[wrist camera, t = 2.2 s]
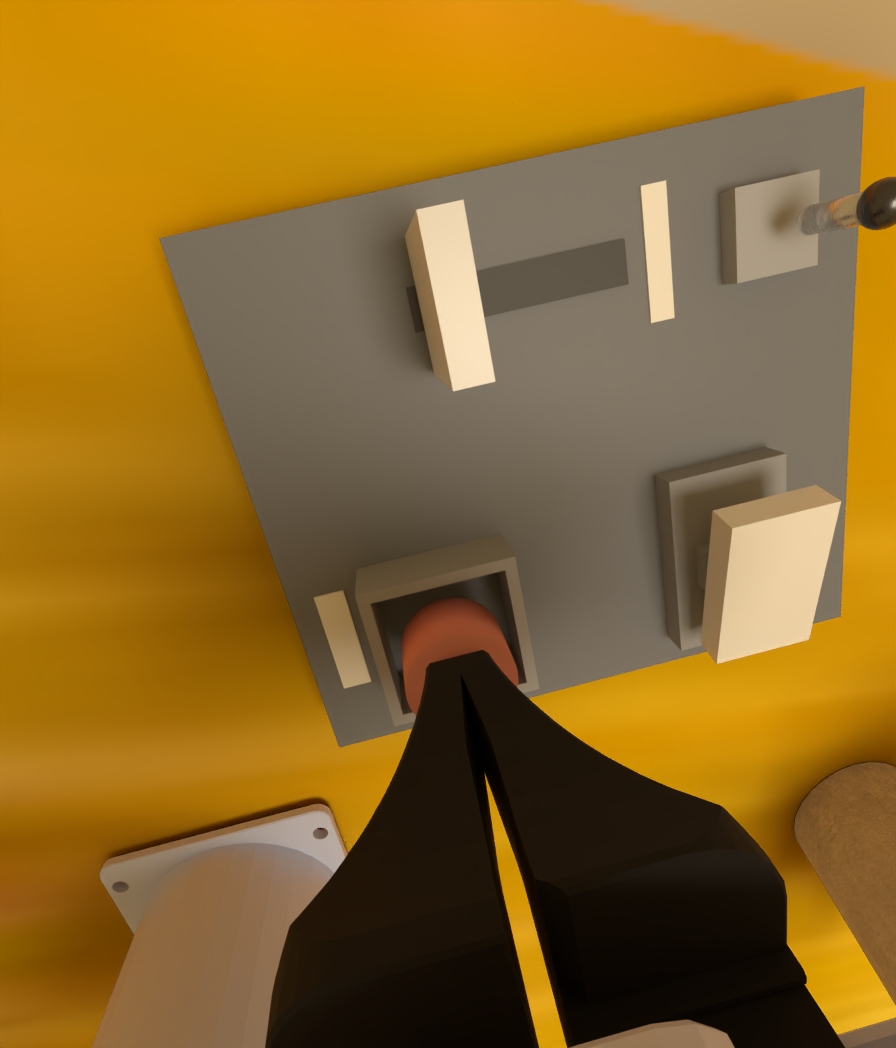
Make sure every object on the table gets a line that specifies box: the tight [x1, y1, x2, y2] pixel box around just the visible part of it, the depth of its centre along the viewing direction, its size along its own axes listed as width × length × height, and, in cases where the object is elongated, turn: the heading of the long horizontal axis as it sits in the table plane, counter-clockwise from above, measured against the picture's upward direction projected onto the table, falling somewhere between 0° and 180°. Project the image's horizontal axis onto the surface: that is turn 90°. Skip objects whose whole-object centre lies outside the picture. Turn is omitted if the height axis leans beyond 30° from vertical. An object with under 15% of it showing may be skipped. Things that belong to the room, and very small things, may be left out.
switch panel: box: [159, 87, 864, 747], centre depth 15 cm, size 14×16×4 cm
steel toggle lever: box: [796, 177, 896, 236], centre depth 12 cm, size 1×1×2 cm
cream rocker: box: [701, 485, 841, 664], centre depth 14 cm, size 4×3×1 cm, turn 12°
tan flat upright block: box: [405, 200, 495, 391], centre depth 11 cm, size 3×1×3 cm, turn 12°
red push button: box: [401, 598, 518, 715], centre depth 14 cm, size 3×3×2 cm
